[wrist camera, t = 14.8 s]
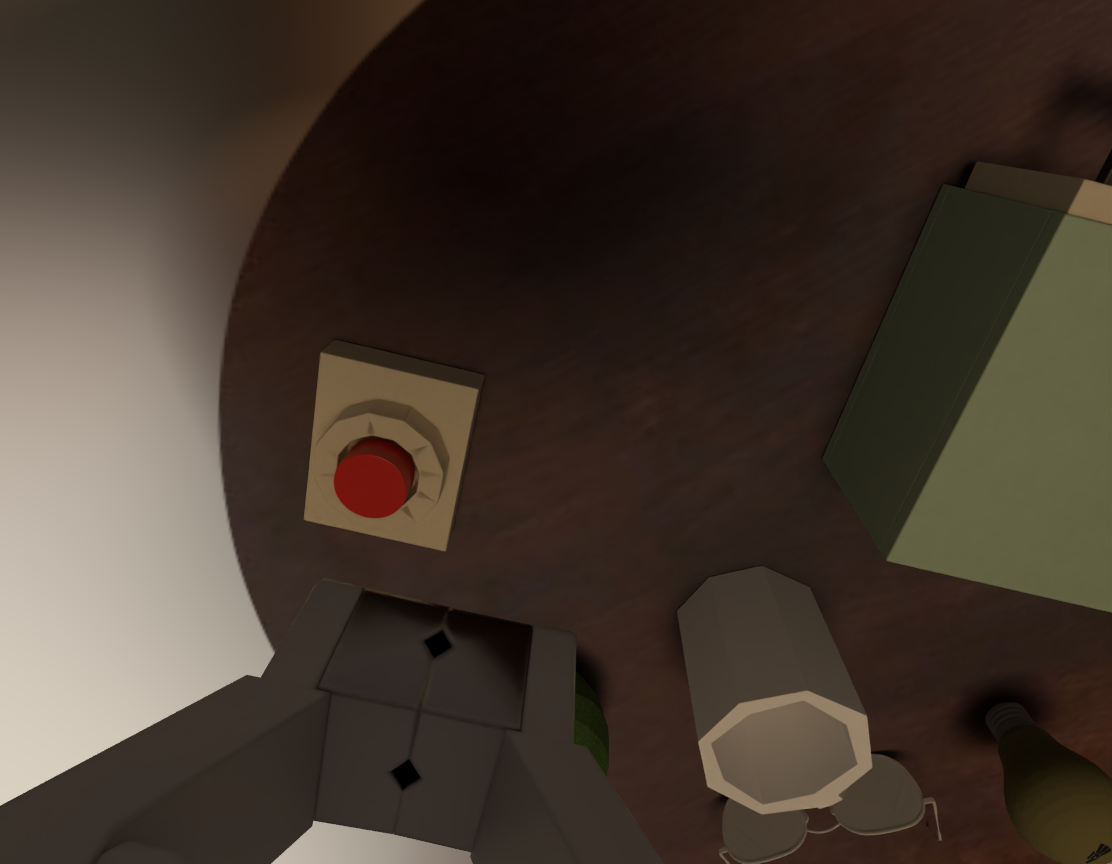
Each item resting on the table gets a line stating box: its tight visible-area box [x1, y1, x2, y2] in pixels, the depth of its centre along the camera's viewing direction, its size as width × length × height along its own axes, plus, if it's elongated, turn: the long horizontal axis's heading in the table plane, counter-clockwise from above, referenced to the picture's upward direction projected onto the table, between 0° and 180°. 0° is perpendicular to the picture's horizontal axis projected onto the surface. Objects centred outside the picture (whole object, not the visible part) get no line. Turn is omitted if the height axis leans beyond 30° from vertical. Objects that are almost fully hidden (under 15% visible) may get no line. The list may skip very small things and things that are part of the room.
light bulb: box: [985, 702, 1112, 864], centre depth 41 cm, size 6×6×10 cm
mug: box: [677, 566, 872, 814], centre depth 40 cm, size 12×9×10 cm
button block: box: [304, 340, 484, 551], centre depth 38 cm, size 10×8×4 cm
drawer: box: [965, 150, 1112, 225], centre depth 31 cm, size 18×11×8 cm, turn 167°
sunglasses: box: [718, 754, 941, 864], centre depth 49 cm, size 14×8×5 cm, turn 114°
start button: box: [334, 439, 415, 518], centre depth 36 cm, size 4×4×2 cm
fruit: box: [574, 672, 609, 776], centre depth 42 cm, size 8×8×12 cm
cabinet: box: [822, 184, 1112, 612], centre depth 32 cm, size 15×13×10 cm
